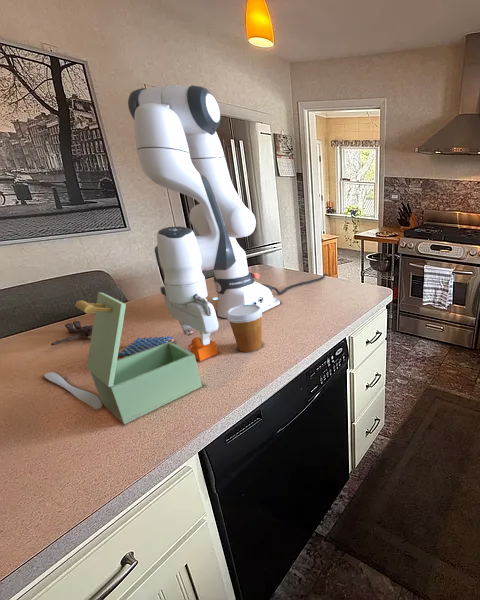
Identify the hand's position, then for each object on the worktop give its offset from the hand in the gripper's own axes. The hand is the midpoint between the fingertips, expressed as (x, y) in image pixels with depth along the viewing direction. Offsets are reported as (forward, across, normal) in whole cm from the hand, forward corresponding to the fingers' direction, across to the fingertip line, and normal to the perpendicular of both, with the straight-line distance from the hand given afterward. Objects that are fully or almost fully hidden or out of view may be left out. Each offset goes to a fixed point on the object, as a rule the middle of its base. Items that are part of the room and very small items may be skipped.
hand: (196, 339), depth 89 cm
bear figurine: (+6, +42, +14) cm, 45 cm away
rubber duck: (+6, 0, -1) cm, 6 cm away
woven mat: (+6, +16, +7) cm, 18 cm away
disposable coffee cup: (+6, -6, -12) cm, 14 cm away
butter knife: (+6, +8, +25) cm, 27 cm away
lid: (-11, -9, +19) cm, 24 cm away
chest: (+6, -9, +14) cm, 18 cm away
